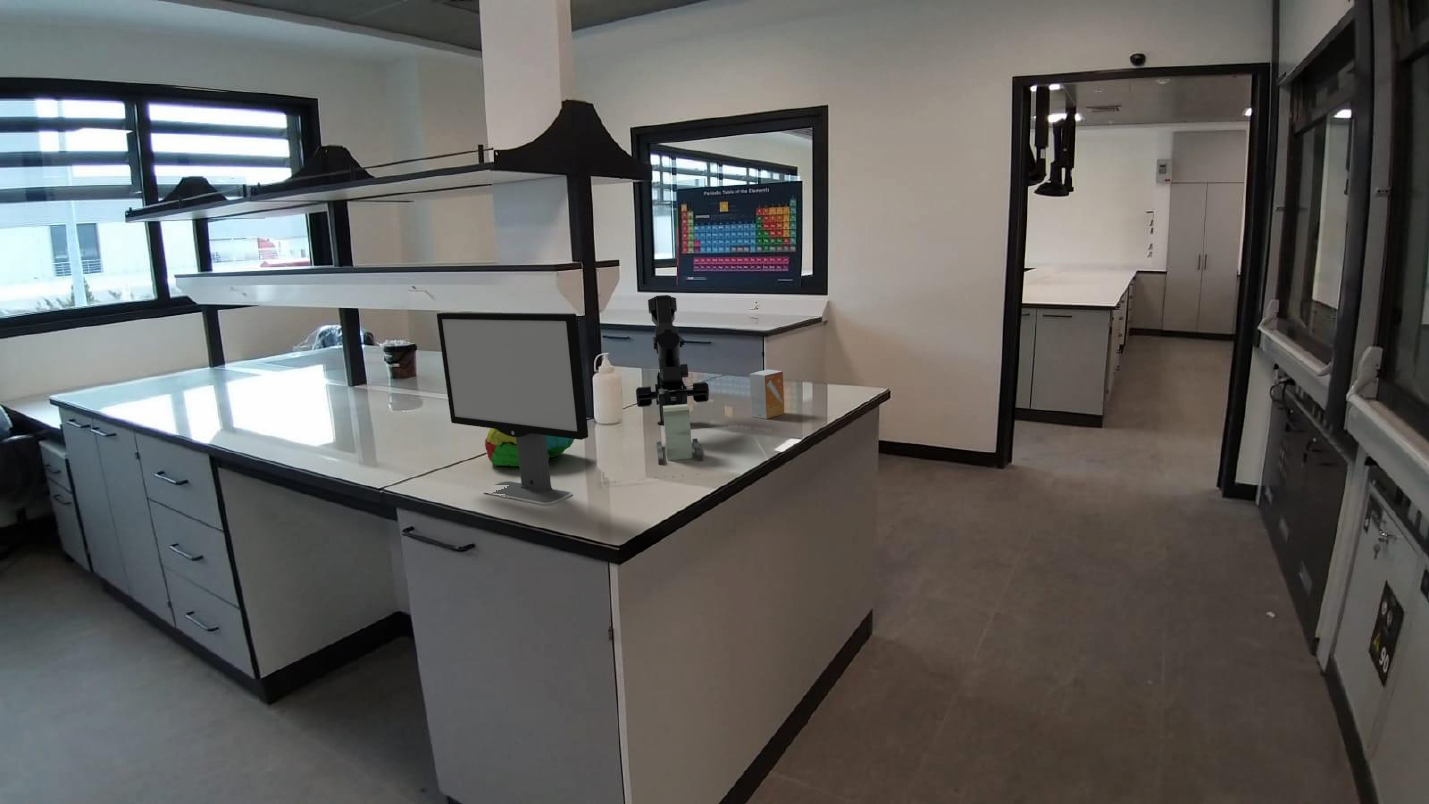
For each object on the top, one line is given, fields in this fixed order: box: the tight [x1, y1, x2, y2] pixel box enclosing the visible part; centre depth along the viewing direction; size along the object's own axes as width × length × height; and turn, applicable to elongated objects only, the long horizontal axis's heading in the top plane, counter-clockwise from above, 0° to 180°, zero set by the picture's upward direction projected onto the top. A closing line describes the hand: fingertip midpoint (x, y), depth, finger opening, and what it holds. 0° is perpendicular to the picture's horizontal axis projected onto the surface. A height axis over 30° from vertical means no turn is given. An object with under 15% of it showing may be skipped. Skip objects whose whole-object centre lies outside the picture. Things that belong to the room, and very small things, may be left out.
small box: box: [749, 369, 785, 420], centre depth 230 cm, size 8×6×13 cm
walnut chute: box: [656, 437, 704, 466], centre depth 192 cm, size 16×12×3 cm
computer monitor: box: [436, 311, 589, 506], centre depth 169 cm, size 41×8×40 cm, turn 56°
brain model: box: [484, 428, 575, 467], centre depth 197 cm, size 24×19×15 cm
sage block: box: [663, 403, 693, 461], centre depth 188 cm, size 6×6×12 cm
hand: (675, 422), depth 198 cm, fingers closed
